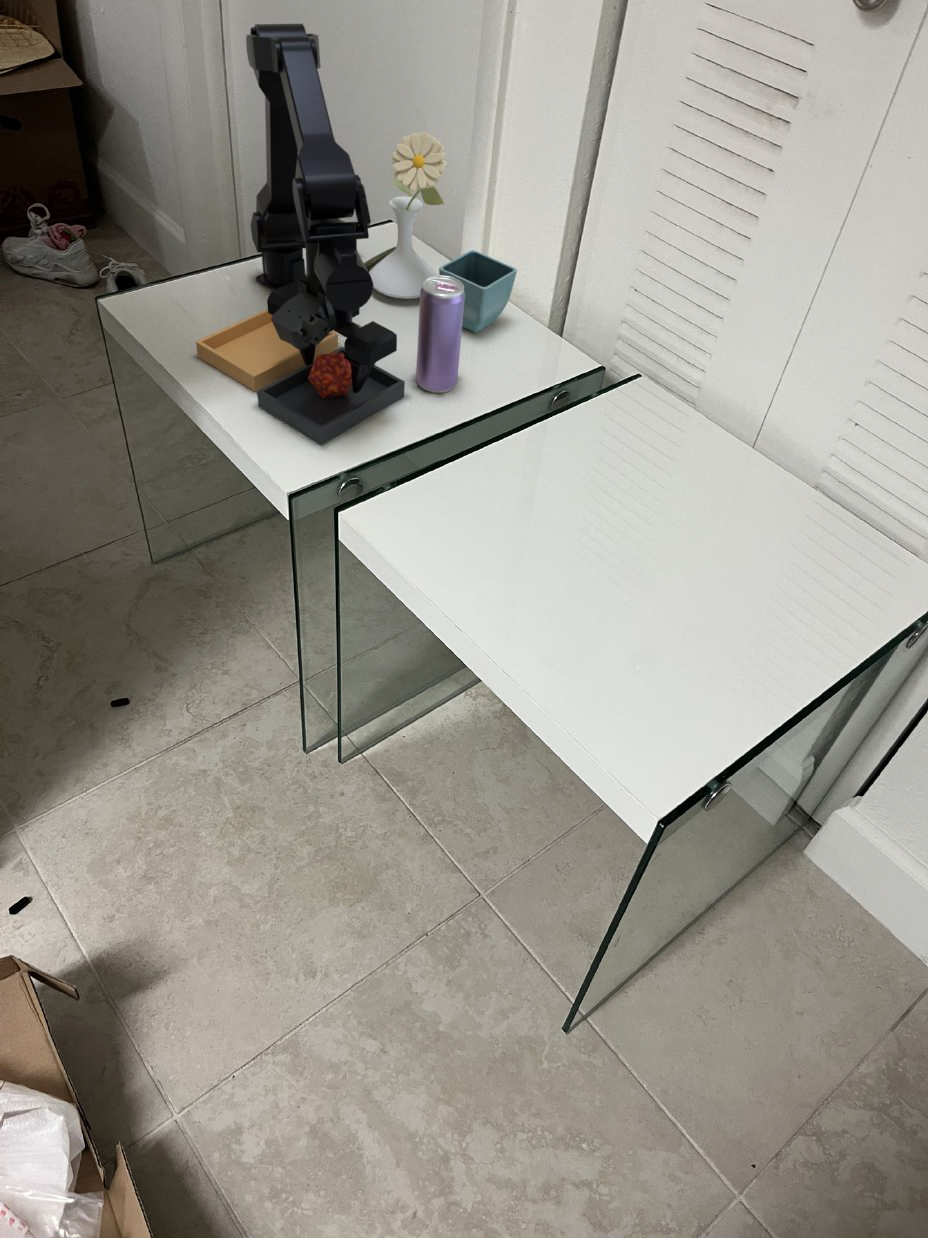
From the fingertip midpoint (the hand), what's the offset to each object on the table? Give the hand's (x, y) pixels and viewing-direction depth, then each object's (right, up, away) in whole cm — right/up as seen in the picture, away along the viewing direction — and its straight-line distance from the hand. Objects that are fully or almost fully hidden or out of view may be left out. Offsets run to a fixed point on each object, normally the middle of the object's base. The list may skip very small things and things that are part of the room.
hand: (332, 377), depth 130 cm
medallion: (+4, +26, +24) cm, 36 cm away
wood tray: (-10, +6, +8) cm, 14 cm away
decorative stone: (0, -2, +2) cm, 3 cm away
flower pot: (+20, +13, +19) cm, 30 cm away
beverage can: (+14, +1, +6) cm, 16 cm away
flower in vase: (+9, +20, +24) cm, 32 cm away
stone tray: (0, -3, +1) cm, 3 cm away
